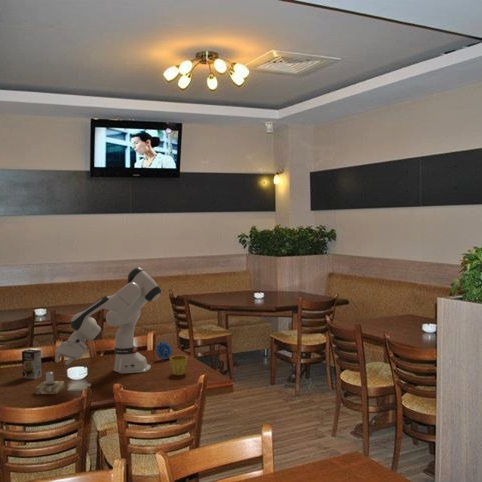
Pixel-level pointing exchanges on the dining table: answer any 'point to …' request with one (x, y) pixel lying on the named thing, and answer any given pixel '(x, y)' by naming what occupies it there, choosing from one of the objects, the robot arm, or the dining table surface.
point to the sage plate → (78, 387)
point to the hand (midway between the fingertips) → (61, 363)
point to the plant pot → (178, 364)
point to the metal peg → (49, 378)
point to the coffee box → (31, 364)
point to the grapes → (163, 350)
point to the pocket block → (50, 388)
